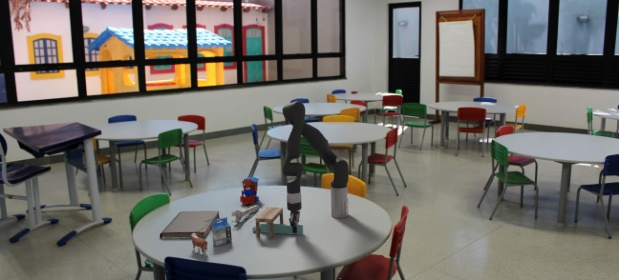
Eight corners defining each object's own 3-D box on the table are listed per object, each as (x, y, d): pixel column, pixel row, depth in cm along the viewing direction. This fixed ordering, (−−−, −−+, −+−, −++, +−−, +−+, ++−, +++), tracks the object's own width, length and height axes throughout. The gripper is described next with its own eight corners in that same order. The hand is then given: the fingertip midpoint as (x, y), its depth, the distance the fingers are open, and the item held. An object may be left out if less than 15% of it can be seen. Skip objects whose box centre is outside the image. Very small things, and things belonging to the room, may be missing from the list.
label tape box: (216, 246, 263) (214, 223, 261) (212, 244, 267) (211, 220, 264) (232, 242, 268) (230, 219, 266) (228, 239, 272) (226, 216, 269)
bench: (283, 226, 288) (282, 207, 286) (273, 238, 271) (272, 219, 269) (267, 225, 290) (266, 206, 288) (256, 237, 273) (255, 218, 271)
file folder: (204, 231, 275) (159, 232, 276) (205, 238, 275) (159, 239, 277) (219, 210, 307) (178, 211, 309) (219, 216, 308) (179, 217, 309)
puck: (262, 229, 285) (261, 226, 284) (260, 232, 280) (260, 229, 280) (253, 229, 285) (253, 226, 285) (252, 232, 281) (251, 229, 280)
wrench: (258, 214, 318) (234, 225, 290) (255, 214, 318) (231, 225, 290) (258, 200, 317) (234, 211, 289) (256, 200, 318) (231, 210, 290)
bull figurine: (196, 246, 264) (195, 231, 263) (210, 254, 254) (209, 238, 253) (188, 249, 262) (187, 233, 260) (202, 257, 252) (200, 240, 250)
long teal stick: (303, 233, 277) (302, 225, 276) (302, 234, 276) (302, 226, 275) (261, 230, 283) (260, 222, 282) (260, 231, 281) (259, 223, 280)
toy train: (260, 198, 339) (259, 175, 336) (254, 206, 323) (253, 182, 320) (244, 198, 340) (243, 175, 337) (238, 206, 325) (236, 182, 322)
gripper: (290, 196, 281) (291, 227, 285) (283, 204, 268) (284, 236, 272) (304, 196, 279) (305, 227, 283) (297, 204, 266) (298, 237, 270)
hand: (295, 232), depth 277 cm, fingers closed
